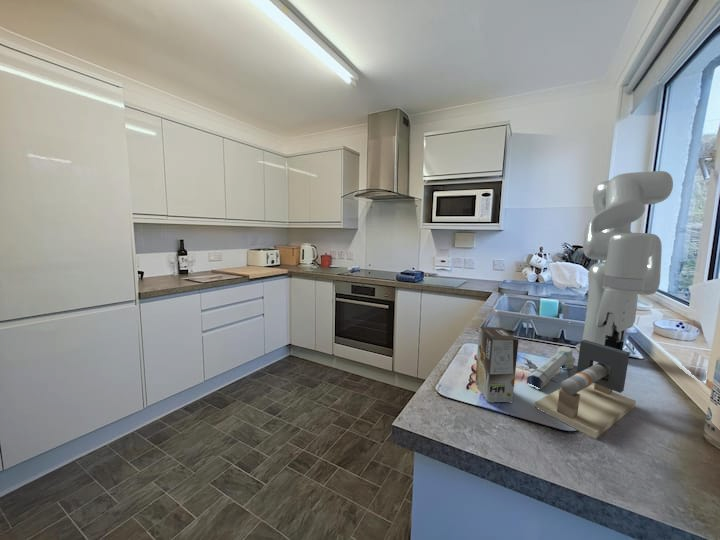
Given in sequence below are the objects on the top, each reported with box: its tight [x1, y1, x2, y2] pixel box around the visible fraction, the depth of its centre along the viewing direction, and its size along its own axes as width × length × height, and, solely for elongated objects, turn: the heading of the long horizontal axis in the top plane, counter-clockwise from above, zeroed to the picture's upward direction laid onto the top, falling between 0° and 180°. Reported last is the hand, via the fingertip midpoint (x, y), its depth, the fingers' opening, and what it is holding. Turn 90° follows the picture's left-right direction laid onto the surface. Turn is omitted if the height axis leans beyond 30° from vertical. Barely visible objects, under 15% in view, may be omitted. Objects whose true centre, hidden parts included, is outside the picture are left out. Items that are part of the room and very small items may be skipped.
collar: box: [576, 339, 631, 394], centre depth 72 cm, size 2×9×10 cm, turn 32°
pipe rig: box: [534, 362, 637, 440], centre depth 70 cm, size 22×12×10 cm, turn 122°
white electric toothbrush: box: [526, 345, 576, 390], centre depth 86 cm, size 5×7×25 cm
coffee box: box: [474, 326, 519, 403], centre depth 74 cm, size 9×6×16 cm
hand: (612, 354), depth 75 cm, fingers closed
